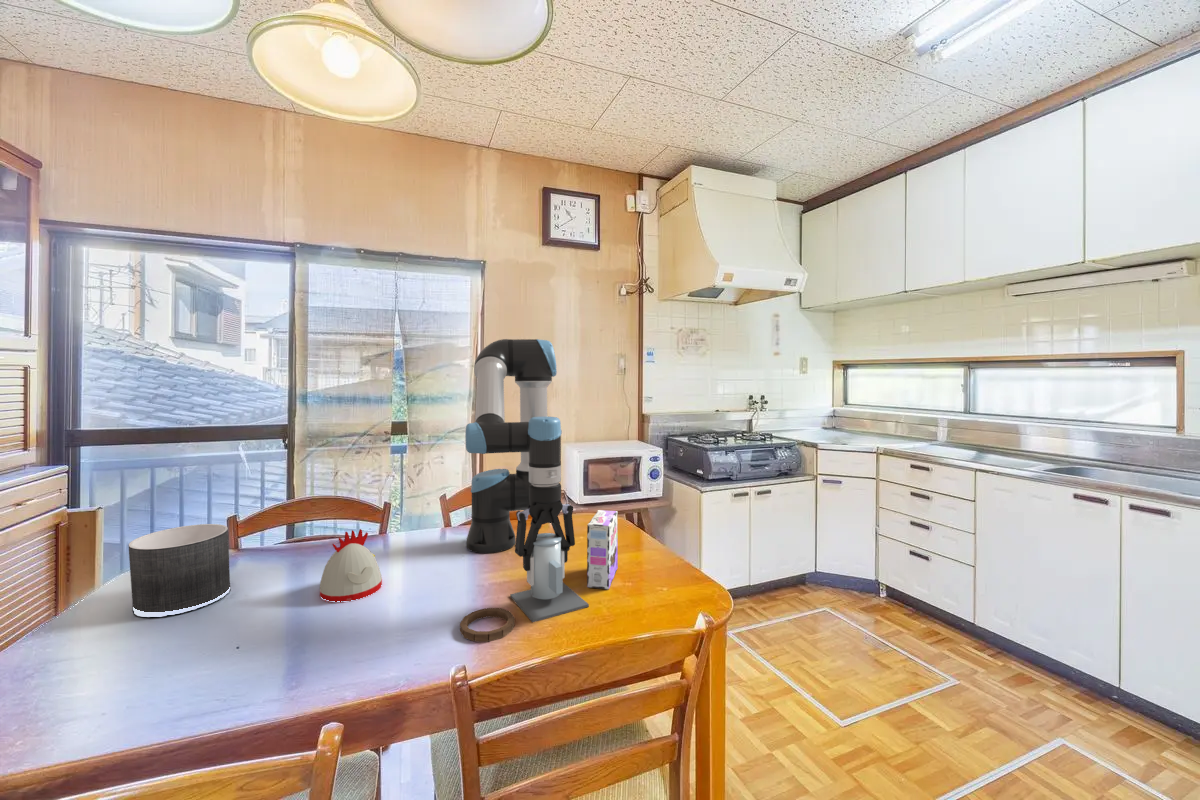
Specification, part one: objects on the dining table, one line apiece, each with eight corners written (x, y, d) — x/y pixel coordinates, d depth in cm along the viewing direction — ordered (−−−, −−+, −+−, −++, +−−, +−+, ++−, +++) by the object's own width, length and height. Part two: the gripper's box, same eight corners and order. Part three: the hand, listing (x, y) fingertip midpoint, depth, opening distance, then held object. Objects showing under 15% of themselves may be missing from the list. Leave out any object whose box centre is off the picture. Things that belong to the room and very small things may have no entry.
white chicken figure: (391, 589, 121) (389, 530, 121) (331, 608, 111) (329, 545, 110) (368, 573, 131) (367, 519, 130) (311, 590, 121) (309, 531, 120)
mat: (510, 596, 117) (510, 594, 117) (562, 583, 124) (562, 581, 124) (532, 622, 105) (532, 619, 105) (588, 606, 112) (588, 604, 112)
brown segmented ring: (455, 622, 105) (455, 615, 105) (503, 609, 111) (503, 603, 110) (468, 647, 96) (468, 640, 95) (521, 632, 101) (521, 625, 101)
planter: (246, 591, 120) (243, 529, 119) (156, 626, 104) (152, 554, 103) (206, 579, 127) (203, 520, 126) (116, 609, 111) (112, 542, 110)
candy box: (609, 590, 121) (609, 525, 120) (586, 588, 122) (586, 524, 121) (618, 568, 134) (618, 510, 133) (597, 566, 135) (597, 508, 134)
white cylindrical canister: (525, 589, 115) (524, 536, 114) (553, 583, 119) (553, 531, 118) (544, 609, 105) (543, 551, 105) (574, 601, 109) (574, 545, 108)
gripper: (509, 492, 104) (510, 595, 105) (590, 481, 114) (590, 576, 115) (498, 485, 111) (499, 583, 112) (575, 475, 121) (576, 565, 122)
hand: (545, 579), depth 114 cm, fingers closed on white cylindrical canister, 7 cm apart
